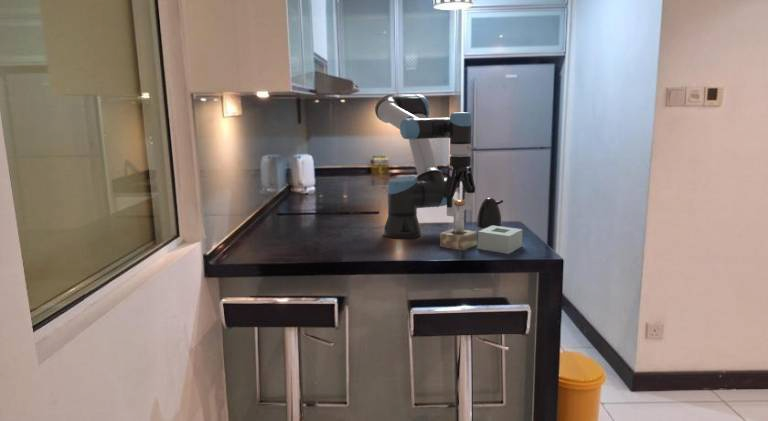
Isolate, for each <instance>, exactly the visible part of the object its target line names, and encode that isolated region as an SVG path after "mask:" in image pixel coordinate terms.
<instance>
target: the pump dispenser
mask: <svg viewBox="0 0 768 421" xmlns="http://www.w3.org/2000/svg"><path fill="white" fill-rule="evenodd" d="M502 203H504V200H503V199H500V200H496V199H494V198H493V197H486V198H485V199H483V202H481V205H480V207H479V209H478V212H477V217H476V224H475V226H476V228H477V232H478V231H481V230H483V229H485V228H488V227H490V226H492V225H494V226H501V227H503V220H502V214H501V213H502V212H501V210H500V207H499V205H500V204H502Z"/></svg>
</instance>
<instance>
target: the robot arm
mask: <svg viewBox="0 0 768 421" xmlns="http://www.w3.org/2000/svg"><path fill="white" fill-rule="evenodd" d="M374 112H375V115H376V117H377V119H379V120H380V121H381V122H382V123H385V124H390V125H391V126H393V127H395V128H397V129H398V130H399V132H400V135H401V137H402V139H404V140H408V142H409V146H410V150H411V154H412V158H413V162H414V165H415V169H416V172H417V175H416V176H413V175H412V176H411V175H409V176H400V177H395V178H393V179H390V180H389V182H388V184H387V213H388V214H387V220H386V221H385V225H384V228H383V235H384V236H385V237H387V238H390V239H397V240H398V239H405V240H406V239H415V238H418V237H420V236H421V235H422V229H421V226H420V222H419V220H418V216H417V215H418V214H417V213H418V212H417V210H418V209H422V208H423V209H424V208H425V209H427V208H436V207H437V208H439V207H445V206H446V217H454V200H455V193H456V191H457V189H458V185H459V184H460V183H462V186H463V188H464V190H465V192H464V200H465V211H472V210H473V208H472V207H473V194H475V193H476V185H475V182H474V181H475V180H474V177H473V170H472V168H473V167H471V164H472V163H471V162H472V160H471V159H472V158H471V156H470V155H471V154H472V153H471V150H472V146H471V145H472V144H471V143H472V124H473V123H472V114H471V113H470V112H451V113H450V117H430V118H429V116H430V105H429V102H428V100H427V98H426V97H425V96H424V95H422V94H416V93H412V94H387V95H384V96H382V97H381V98H379V100H378V101H377V102H376V104H375V107H374ZM431 139H449V155H450V156H449V166H450V167H452V169H451V170H450V169H448V170H447V177H444V174H443V171H442V170H439V169H438V166H437V161H436V159H435V156H434V151H433V148H432V144H431Z"/></svg>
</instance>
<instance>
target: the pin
mask: <svg viewBox="0 0 768 421" xmlns="http://www.w3.org/2000/svg"><path fill="white" fill-rule="evenodd" d="M465 211H466V210H465V199H459V198H457V199H454V216H453V224H452V225H453V227H452V229H453V234H459V235H463V234H464V230H465V217H466V216H465Z"/></svg>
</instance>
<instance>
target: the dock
mask: <svg viewBox="0 0 768 421" xmlns="http://www.w3.org/2000/svg"><path fill="white" fill-rule="evenodd" d="M523 231H524V230H523V229H522V228H514V227H509V226H508V227H507V226H502V227H501V226H494V225H492V226H490V227H488V228H485V229H483V230H481V231H478V230H477V249H478V250H483V251H488V252H489V251H490V252H493V253H495V252H496V253H502V254H507V255H509V254H511V253H513V252H514V251H516V250H518V249H520V248H521V247H522V245H523Z"/></svg>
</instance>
